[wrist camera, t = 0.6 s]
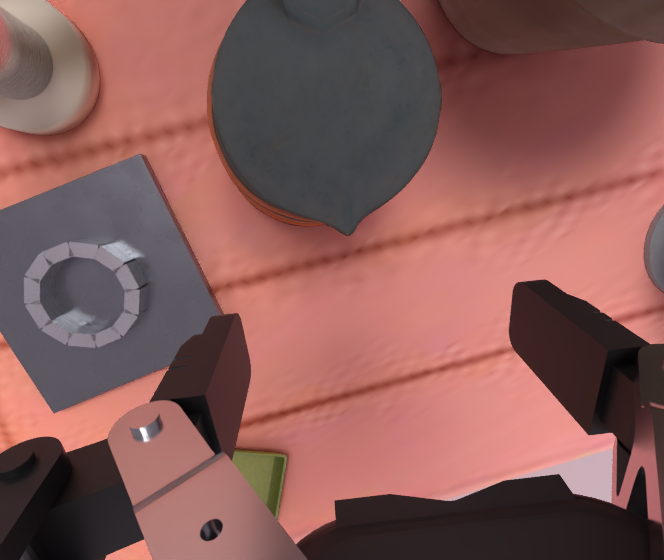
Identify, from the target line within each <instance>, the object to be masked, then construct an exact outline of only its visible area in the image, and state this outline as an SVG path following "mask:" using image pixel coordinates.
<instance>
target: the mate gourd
mask: <svg viewBox="0 0 664 560" xmlns="http://www.w3.org/2000/svg"><path fill="white" fill-rule="evenodd" d="M644 261H645V267H646V270H647V273H648V275H649V278H650V279H651V280H652V282H653V283H654V285H655V286H656V287H658V288H659V289H660V290H661V291H662V292H664V205H663V206H662V208H661V209H660V210H659V211H658V213H657V214H656V216H655V217H654V219H653V221H652V223H651V225H650V227H649V230H648V232H647V235H646V240H645V245H644Z"/></svg>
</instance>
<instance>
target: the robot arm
mask: <svg viewBox="0 0 664 560" xmlns="http://www.w3.org/2000/svg"><path fill="white" fill-rule="evenodd" d="M509 337H510V341H511V344H512V347H513V348H514V350H515V351H516V353H517V354H518V355H519V356H520V357H521V358H522V359H523V361H524V362H525V363H526V364H527V365H528V366H529V367H530V369H531V370H532V371H533V372H534V373H535V374H536V375H537V377H538V378H539V379H540V380H541V381H542V382H543V383H544V385H545V386H546V387H547V388H548V389H549V390H550V391H551V393H552V394H553V395H554V396H555V397H556V398H557V399H558V401H559V402H560V403H561V404H562V405H563V406H564V407H565V409H566V410H567V411H568V412H569V413H570V414H571V416H572V417H573V418H574V419H575V420H576V421H577V422H578V424H579V425H580V426H581V427H582V428H583V429H584V430H585V432H586V433H587V434H588V435H595V434H604V433H613V434H614V435H615V436H616V438H615V442H614V446H613V464H612V465H613V466H612V503H609V502H605V501H602V500H599V499H596V498H592V497H587V496H583V495H577V494H573V493H572V492H571V490H570V489H569V488H568V486H567V485H566V483H565V482H564V481H563V479H562V478H561V476H560V475H559V474H557V475H549V476H540V477H532V478H523V479H514V480H506V481H502V482H500V483H497V484H495V485H492V486H490V487H488V488H485V489H483V490H480V491H478V492H475V493H473V494H470V495H468V496H465V497H463V498H461V499H458V500H455V501H443V500H434V499H426V498H418V497H410V496H401V495H393V494H387V495H378V496H370V497H361V498H353V499H344V500H336V501H335V514H336V520H335V521H332V522H330V523H327V524H325V525H323V526H321V527H320V528H318V529H316V530H314V531H313V532H311V533H310V534H308V535H307V536H306V537H304V538H303V539H302V540H300V541H299V542H298V543H297V544H295V543H294V541H293V540H292V539H291V537H290V536H289V535H288V534H287V532H286V531H285V530H284V528H283V527H282V526H281V524H280V523H279V522H278V521H277V519H276V518H275V517H274V515H273V514H272V513H271V511H270V510H269V509H268V508H267V506H266V505H265V504H264V502H263V501H262V500H261V498H260V497H259V496H258V495H257V493H256V492H255V491H254V489H253V488H252V487H251V486H250V484H249V483H248V482H247V480H246V479H245V478H244V476H243V475H242V474H241V473H240V471H239V470H238V469H237V467H236V466H235V465H234V463H233V462H232V459H233V455H234V450H235V446H236V441H237V437H238V432H239V428H240V424H241V419H242V415H243V410H244V406H245V401H246V397H247V392H248V388H249V383H250V378H251V365H250V358H249V353H248V349H247V344H246V340H245V335H244V331H243V326H242V322H241V318H240V316H239V314H238V313H235V314H226V315H217V316H211V317H210V319H209V321H208V323H207V325H206V327H205V329H204V331H203V333H202V334H198V335H193V336H192V337H191V338H190V339H189V340H187V341H186V342H185V343H184V344H183V345H182V346H181V347H180V349H179V350H178V352H177V354H176V356H175V357H174V360H173V361H172V363H171V365H170V366H169V370H168V371H167V372H166V374H165V375H164V377H163V379H162V381H161V383H160V384H159V386H158V388H157V390H156V392H155V393H154V395H153V397H152V399H151V400H150V402H149V403H146V404H143V405H141V406H139V407H136V408H135V409H133V410H131V411H129V412H128V413H126V414H125V415H124V416H122V417H121V418H120V419H119V420H118V421H117V422H116V423H115V424H114V426H113V427H112V428H111V430H110V432H109V435H108V439H105V440H102V441H100V442H97V443H94V444H91V445H88V446H85V447H82V448H79V449H76V450H73V451H70V452H67V453H66V452H65V450H64V448H63V446H62V444H61V442H60V441H59V440H58V439H56V438H53V437H39V438H34V439H30V440H27V441H24V442H22V443H19V444H17V445H15V446H13V447H11V448H9V449H7V450H6V451H4V452H2V453H1V454H0V560H105V558H106V555H108V554H110V553H113V552H115V551H117V550H120V549H122V548H124V547H127V546H129V545H131V544H134V543H136V542H139V541H141V540H143V539H145V541H146V544H147V546H148V549H149V551H150V554H151V556H152V559H153V560H664V344H649V343H648V342H646V341H645V340H643V339H642V338H640V337H639V336H637V335H636V334H634V333H633V332H631V331H630V330H628V329H627V328H625V327H624V326H622V325H621V324H619V323H618V322H616V321H612V318H610V317H609V316H607V315H606V314H604V313H600V310H598V309H597V308H595V307H594V306H592V305H591V304H589V303H588V302H587V301H584V300H582V299H579V298H576V297H574V296H571V295H569V294H566V293H565V292H563V291H562V290H561V289H559V288H558V287H556V286H555V285H553V284H552V283H550V282H549V281H547V280H535V281H526V282H518V283H516V284H515V286H514V289H513V295H512V305H511V315H510V324H509Z"/></svg>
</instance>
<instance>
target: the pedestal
mask: <svg viewBox="0 0 664 560" xmlns="http://www.w3.org/2000/svg"><path fill="white" fill-rule="evenodd" d="M0 6H1V7H2V8H4V9H5V10H7V11H8V12H10V13H11V14H13V15H14V16H16V17H17V18H19V19H20V20H22V21H23V22H25V23H26V24H28V25H29V26H30V27H32V28H33V29H34V30H36V31H37V32H38V33H39V34H40V35H41V36H42V38H43V39H44V40H45V42H46V44H47V45H48V47H49V50H50V52H51V55H52V60H53V74H52V78H51V80H50V83H49V84H48V86H47V87H46V89H45V90H44V91H43V92H42V93H40V94H39V95H37V96H35V97H33V98H30V99H26V100H14V99H9V98H6V97H3V96H0V126H1V127H4V128H8V129H12V130H16V131H20V132H24V133H29V134H33V135H42V136H47V135H56V134H61V133H64V132H67V131H69V130H71V129H73V128H75V127H76V126H78V125H79V124H81V123H82V122H83V121H84V120H85V119H86V118H87V116H88V115H89V114H90V113H91V111H92V109H93V107H94V106H95V103H96V101H97V98H98V93H99V87H100V73H99V67H98V63H97V59H96V56H95V54H94V51H93V49H92V47H91V45H90V43H89V42H88V40H87V38H86V37H85V36H84V34H83V33H82V32H81V31H80V29H79V28H78V27H77V26H76V25H75V24H74V23H73V22H72V21H70V20H69V19H68V18H67V17H66V16H64V15H63V14H62V13H61V12H60V11H58V10H57V9H56V8H55V7H53V6H52V5H51V4H50V3H48V2H47V1H46V0H0Z"/></svg>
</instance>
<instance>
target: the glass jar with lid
mask: <svg viewBox="0 0 664 560" xmlns="http://www.w3.org/2000/svg"><path fill="white" fill-rule="evenodd" d="M52 74H53V60H52V55H51V52H50V50H49V47H48V45H47V44H46V42H45V40H44V39H43V38H42V36H41V35H40V34H39V33H38V32H37V31H36V30H34V29H33V28H32V27H30V26H29V25H28V24H26V23H25V22H23V21H22V20H20V19H19V18H17V17H16V16H14V15H13V14H11V13H10V12H8V11H7V10H5V9H4V8H2V7H1V6H0V96H3V97H6V98H9V99H14V100H26V99H30V98H33V97H35V96H37V95H39V94H40V93H42V92H43V91H44V90H45V89H46V87H47V86H48V84H49V83H50V80H51V78H52Z"/></svg>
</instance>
